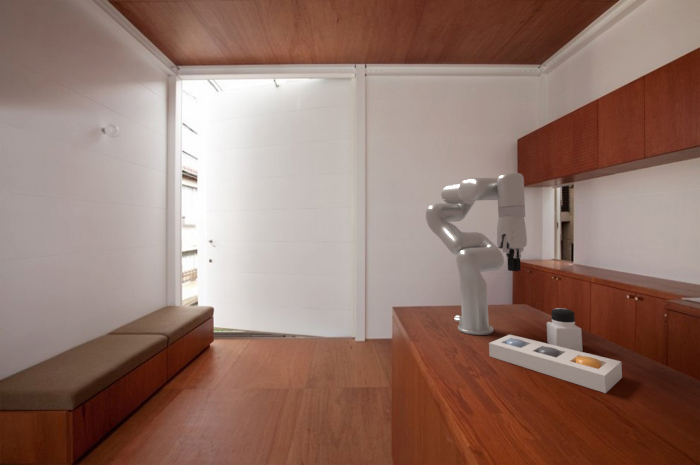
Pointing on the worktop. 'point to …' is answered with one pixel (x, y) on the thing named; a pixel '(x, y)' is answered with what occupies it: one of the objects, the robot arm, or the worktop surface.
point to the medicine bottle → (564, 330)
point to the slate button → (515, 342)
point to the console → (558, 363)
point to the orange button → (588, 361)
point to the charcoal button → (549, 351)
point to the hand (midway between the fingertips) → (514, 270)
